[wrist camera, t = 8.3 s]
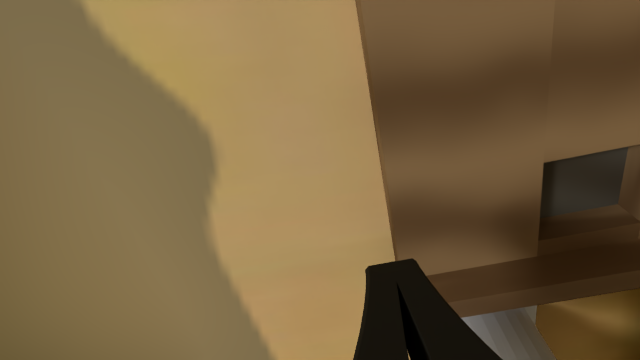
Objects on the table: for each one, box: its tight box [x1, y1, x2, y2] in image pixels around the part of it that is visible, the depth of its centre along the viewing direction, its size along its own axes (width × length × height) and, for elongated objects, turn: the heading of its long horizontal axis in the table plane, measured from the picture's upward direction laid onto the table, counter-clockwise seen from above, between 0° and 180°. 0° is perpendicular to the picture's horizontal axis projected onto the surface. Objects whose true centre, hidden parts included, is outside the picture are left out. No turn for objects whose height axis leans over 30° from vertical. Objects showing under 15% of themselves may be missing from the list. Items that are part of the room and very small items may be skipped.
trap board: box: [355, 0, 640, 318], centre depth 16 cm, size 20×20×4 cm
